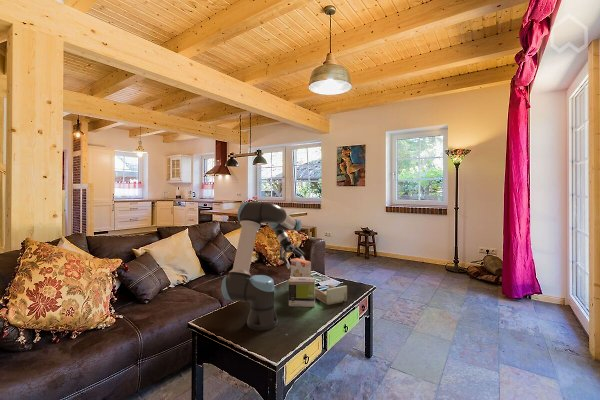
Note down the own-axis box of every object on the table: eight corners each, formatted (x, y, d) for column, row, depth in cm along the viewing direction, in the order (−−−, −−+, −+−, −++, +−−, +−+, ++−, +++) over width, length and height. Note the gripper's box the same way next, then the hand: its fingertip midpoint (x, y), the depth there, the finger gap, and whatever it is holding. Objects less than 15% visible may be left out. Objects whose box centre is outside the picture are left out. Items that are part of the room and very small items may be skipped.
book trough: (327, 305, 171) (327, 289, 171) (312, 295, 186) (312, 281, 186) (346, 300, 178) (347, 286, 178) (330, 292, 193) (330, 278, 193)
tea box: (315, 301, 178) (315, 276, 177) (314, 307, 168) (314, 282, 167) (290, 299, 179) (290, 275, 178) (288, 306, 169) (288, 281, 168)
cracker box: (290, 289, 197) (290, 258, 196) (296, 287, 201) (297, 257, 200) (304, 295, 186) (304, 262, 185) (311, 293, 190) (311, 261, 190)
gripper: (296, 241, 218) (309, 266, 207) (267, 245, 202) (280, 272, 191) (300, 235, 214) (314, 260, 203) (271, 239, 198) (284, 266, 187)
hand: (297, 266), depth 197 cm, fingers open, 13 cm apart
